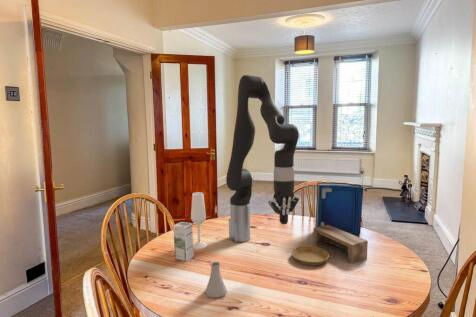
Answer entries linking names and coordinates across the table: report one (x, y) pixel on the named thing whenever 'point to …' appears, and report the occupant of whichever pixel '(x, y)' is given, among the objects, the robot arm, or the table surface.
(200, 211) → the champagne flute
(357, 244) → the walnut shelf
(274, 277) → the table surface
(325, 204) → the book
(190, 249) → the syrup box
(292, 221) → the table surface
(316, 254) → the plant saucer
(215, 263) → the flask
